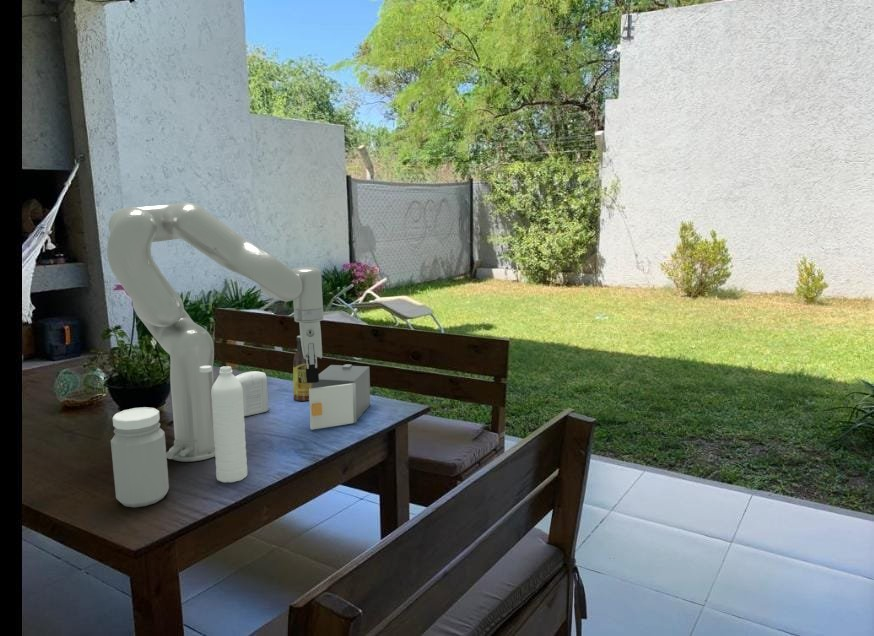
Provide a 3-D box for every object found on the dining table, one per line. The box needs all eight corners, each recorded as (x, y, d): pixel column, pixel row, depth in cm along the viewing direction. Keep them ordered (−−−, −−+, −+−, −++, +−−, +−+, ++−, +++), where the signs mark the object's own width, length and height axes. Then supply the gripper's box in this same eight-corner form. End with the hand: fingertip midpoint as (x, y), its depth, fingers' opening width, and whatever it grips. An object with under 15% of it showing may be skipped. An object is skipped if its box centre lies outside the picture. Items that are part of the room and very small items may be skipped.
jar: (172, 501, 123) (165, 416, 120) (118, 513, 118) (109, 425, 115) (166, 483, 132) (160, 403, 128) (115, 493, 127) (107, 410, 124)
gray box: (355, 423, 169) (354, 378, 167) (308, 420, 171) (306, 376, 169) (370, 405, 185) (369, 363, 182) (326, 402, 187) (325, 362, 185)
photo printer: (263, 408, 182) (261, 367, 180) (270, 411, 179) (268, 370, 177) (230, 415, 175) (228, 374, 173) (237, 419, 172) (235, 377, 170)
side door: (358, 423, 167) (357, 384, 165) (312, 430, 162) (310, 390, 160) (355, 421, 169) (354, 382, 167) (310, 428, 164) (308, 388, 162)
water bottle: (251, 470, 138) (245, 363, 134) (242, 483, 132) (236, 370, 127) (212, 470, 138) (205, 363, 134) (201, 483, 132) (194, 370, 127)
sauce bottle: (298, 403, 187) (295, 339, 183) (290, 398, 192) (287, 335, 188) (318, 399, 190) (316, 336, 187) (309, 394, 195) (307, 333, 192)
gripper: (324, 318, 154) (328, 388, 158) (321, 309, 168) (325, 373, 172) (294, 320, 153) (298, 391, 156) (294, 310, 167) (298, 375, 170)
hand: (312, 381), depth 164 cm, fingers closed
